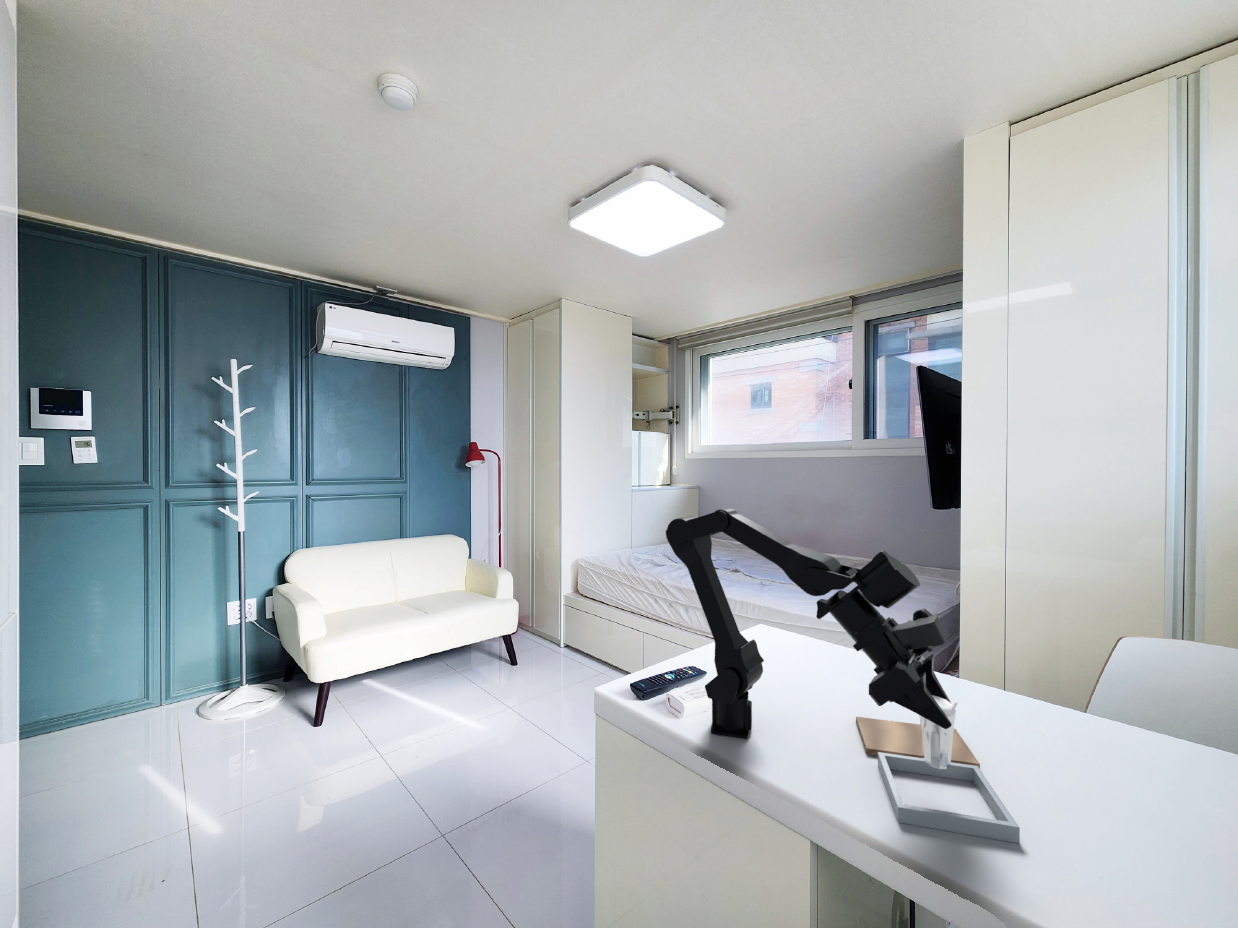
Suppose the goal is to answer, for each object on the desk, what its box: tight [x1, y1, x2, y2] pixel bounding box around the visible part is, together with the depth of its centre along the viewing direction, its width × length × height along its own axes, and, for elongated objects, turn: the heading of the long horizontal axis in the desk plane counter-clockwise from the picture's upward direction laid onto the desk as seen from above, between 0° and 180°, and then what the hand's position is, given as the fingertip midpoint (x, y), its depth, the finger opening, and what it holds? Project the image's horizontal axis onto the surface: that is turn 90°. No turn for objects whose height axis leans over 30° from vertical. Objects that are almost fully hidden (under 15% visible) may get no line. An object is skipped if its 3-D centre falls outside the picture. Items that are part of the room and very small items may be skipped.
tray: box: [877, 752, 1020, 844], centre depth 72 cm, size 14×14×2 cm
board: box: [855, 716, 981, 770], centre depth 87 cm, size 16×11×1 cm
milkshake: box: [918, 695, 958, 769], centre depth 72 cm, size 4×5×10 cm
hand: (951, 720), depth 71 cm, fingers closed on milkshake, 4 cm apart
